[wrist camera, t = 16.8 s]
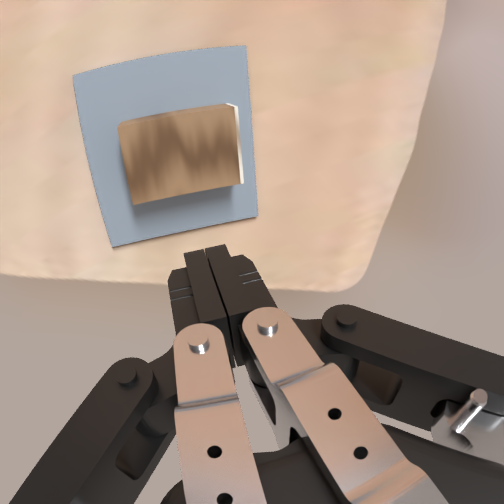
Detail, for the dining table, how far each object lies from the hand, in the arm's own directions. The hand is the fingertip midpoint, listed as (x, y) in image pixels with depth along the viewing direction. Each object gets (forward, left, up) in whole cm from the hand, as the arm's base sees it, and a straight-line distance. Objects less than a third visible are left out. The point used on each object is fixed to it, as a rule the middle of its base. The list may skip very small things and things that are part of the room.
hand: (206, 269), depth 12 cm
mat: (0, 0, -21) cm, 21 cm away
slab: (0, -4, -19) cm, 19 cm away
